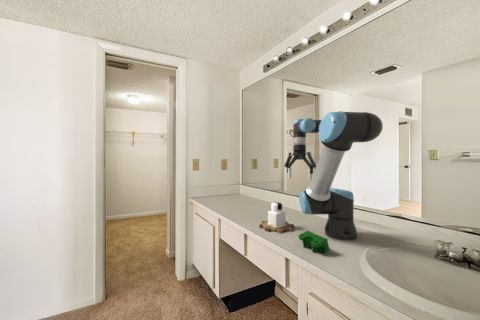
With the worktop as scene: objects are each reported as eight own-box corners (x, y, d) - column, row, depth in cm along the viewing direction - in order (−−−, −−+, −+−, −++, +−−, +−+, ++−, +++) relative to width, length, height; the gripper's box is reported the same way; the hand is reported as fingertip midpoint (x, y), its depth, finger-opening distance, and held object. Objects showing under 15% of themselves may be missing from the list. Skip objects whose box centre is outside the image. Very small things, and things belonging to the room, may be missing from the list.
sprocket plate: (300, 227, 118) (300, 224, 118) (282, 235, 104) (282, 232, 104) (272, 220, 131) (272, 217, 131) (252, 227, 117) (252, 224, 117)
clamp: (304, 256, 91) (295, 236, 94) (314, 250, 94) (305, 230, 96) (322, 256, 81) (311, 233, 83) (332, 250, 84) (322, 228, 86)
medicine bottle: (276, 221, 123) (277, 201, 123) (285, 224, 117) (285, 203, 117) (267, 223, 119) (267, 202, 119) (276, 226, 113) (276, 204, 113)
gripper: (322, 143, 124) (322, 179, 123) (285, 146, 141) (285, 177, 140) (316, 142, 118) (316, 180, 118) (279, 145, 135) (278, 177, 135)
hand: (299, 178), depth 129 cm, fingers open, 13 cm apart
